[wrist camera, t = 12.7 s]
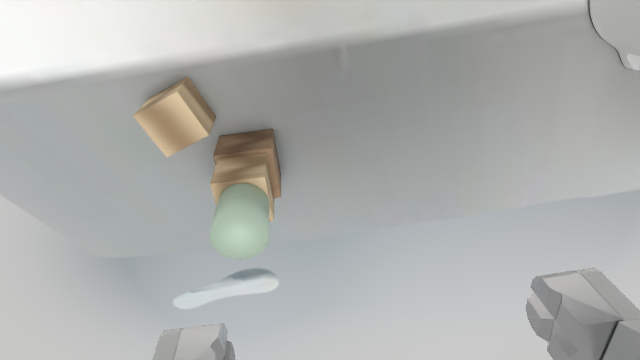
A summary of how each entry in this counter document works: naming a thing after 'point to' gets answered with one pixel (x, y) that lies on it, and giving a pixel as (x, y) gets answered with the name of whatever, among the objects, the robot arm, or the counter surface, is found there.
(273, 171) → the tower block base
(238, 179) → the tower block top
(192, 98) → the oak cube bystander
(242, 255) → the sage green cylinder
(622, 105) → the counter surface
